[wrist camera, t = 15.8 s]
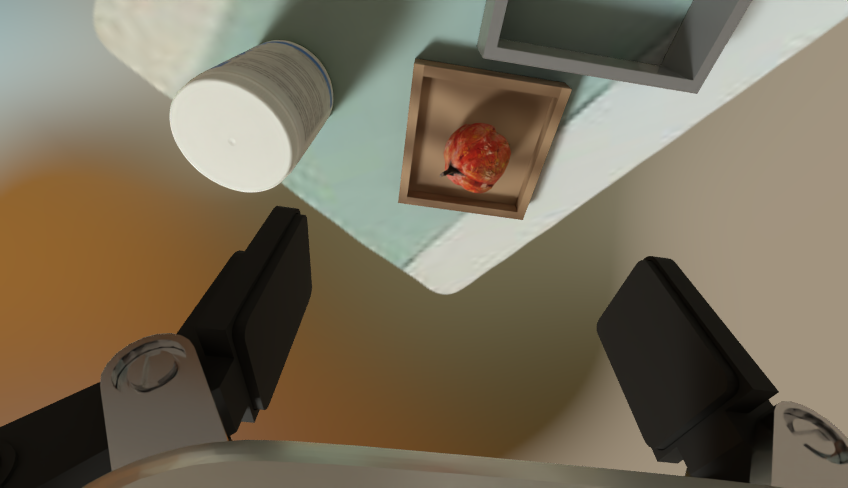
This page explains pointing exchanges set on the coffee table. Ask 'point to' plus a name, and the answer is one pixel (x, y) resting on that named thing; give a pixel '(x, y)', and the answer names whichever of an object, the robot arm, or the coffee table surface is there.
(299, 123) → the supplement tub
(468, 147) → the pomegranate
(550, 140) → the tray
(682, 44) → the grey open box
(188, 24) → the coffee table surface
